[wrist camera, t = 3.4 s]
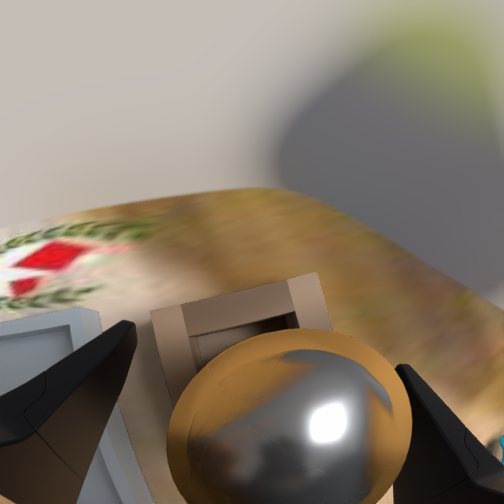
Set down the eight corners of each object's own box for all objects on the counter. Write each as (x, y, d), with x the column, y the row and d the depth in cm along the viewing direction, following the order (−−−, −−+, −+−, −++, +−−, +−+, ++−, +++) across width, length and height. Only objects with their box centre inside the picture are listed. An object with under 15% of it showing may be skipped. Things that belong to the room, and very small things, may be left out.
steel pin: (294, 393, 15) (420, 491, 3) (226, 410, 15) (209, 558, 3) (277, 328, 16) (385, 296, 4) (209, 345, 16) (136, 360, 4)
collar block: (337, 414, 15) (356, 427, 12) (200, 449, 14) (193, 470, 11) (303, 283, 17) (316, 271, 14) (164, 316, 16) (149, 310, 13)
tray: (162, 519, 12) (154, 539, 10) (11, 500, 11) (-6, 509, 8) (98, 311, 16) (79, 306, 14) (-36, 336, 14) (-57, 333, 12)
